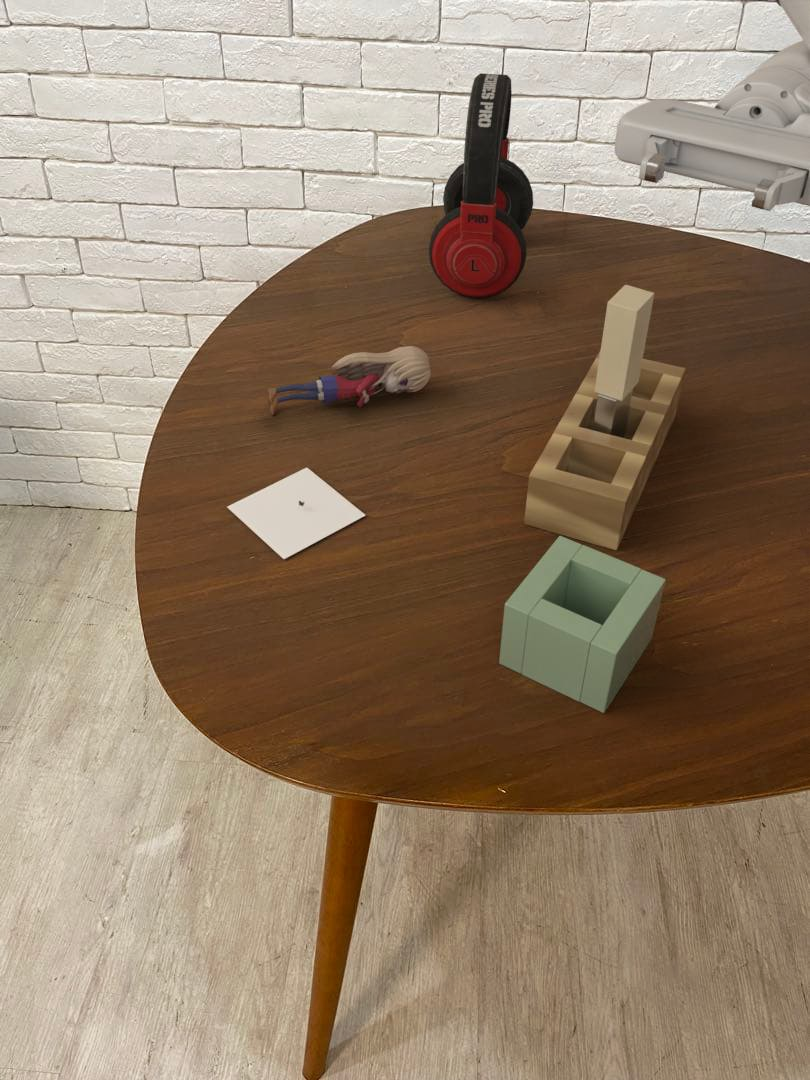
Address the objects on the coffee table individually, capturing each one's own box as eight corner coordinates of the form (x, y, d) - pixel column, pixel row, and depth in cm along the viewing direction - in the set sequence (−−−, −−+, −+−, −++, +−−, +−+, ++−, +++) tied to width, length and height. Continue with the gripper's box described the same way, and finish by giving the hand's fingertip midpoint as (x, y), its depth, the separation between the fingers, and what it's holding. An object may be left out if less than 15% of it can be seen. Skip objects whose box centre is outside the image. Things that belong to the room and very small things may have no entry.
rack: (594, 395, 97) (601, 348, 93) (675, 415, 94) (685, 368, 91) (523, 524, 84) (528, 475, 80) (616, 550, 81) (626, 501, 78)
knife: (625, 459, 90) (655, 291, 79) (607, 481, 87) (636, 312, 77) (599, 450, 91) (626, 283, 80) (581, 472, 88) (606, 303, 78)
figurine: (270, 402, 90) (439, 371, 92) (260, 358, 91) (427, 328, 93) (274, 431, 96) (433, 401, 97) (265, 389, 97) (422, 360, 99)
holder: (652, 638, 74) (666, 578, 70) (603, 714, 70) (616, 654, 66) (551, 594, 78) (559, 534, 74) (498, 663, 73) (504, 603, 69)
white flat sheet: (226, 507, 85) (225, 499, 84) (306, 467, 89) (306, 460, 88) (283, 559, 80) (283, 552, 80) (365, 515, 84) (365, 507, 83)
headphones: (520, 313, 107) (538, 116, 94) (424, 305, 109) (428, 109, 95) (530, 235, 120) (547, 51, 107) (444, 228, 121) (450, 46, 108)
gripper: (656, 70, 93) (588, 118, 85) (892, 116, 85) (843, 175, 77) (645, 140, 98) (579, 193, 89) (869, 191, 89) (820, 255, 81)
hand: (703, 185), depth 83 cm, fingers open, 8 cm apart
